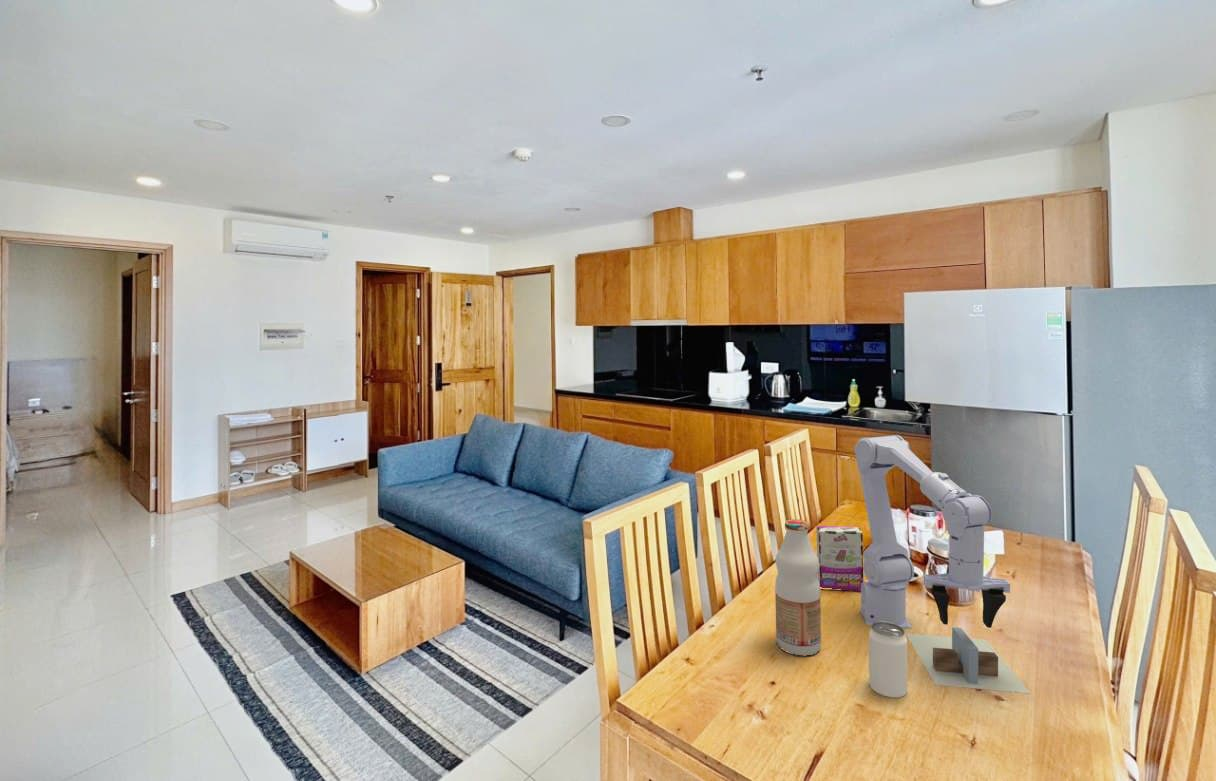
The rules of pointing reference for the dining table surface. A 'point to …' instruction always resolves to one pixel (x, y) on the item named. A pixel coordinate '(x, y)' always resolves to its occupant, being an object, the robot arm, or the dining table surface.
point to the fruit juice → (798, 592)
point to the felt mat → (1001, 683)
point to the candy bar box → (840, 557)
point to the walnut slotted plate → (949, 663)
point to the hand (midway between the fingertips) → (965, 623)
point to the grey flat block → (966, 654)
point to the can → (888, 659)
